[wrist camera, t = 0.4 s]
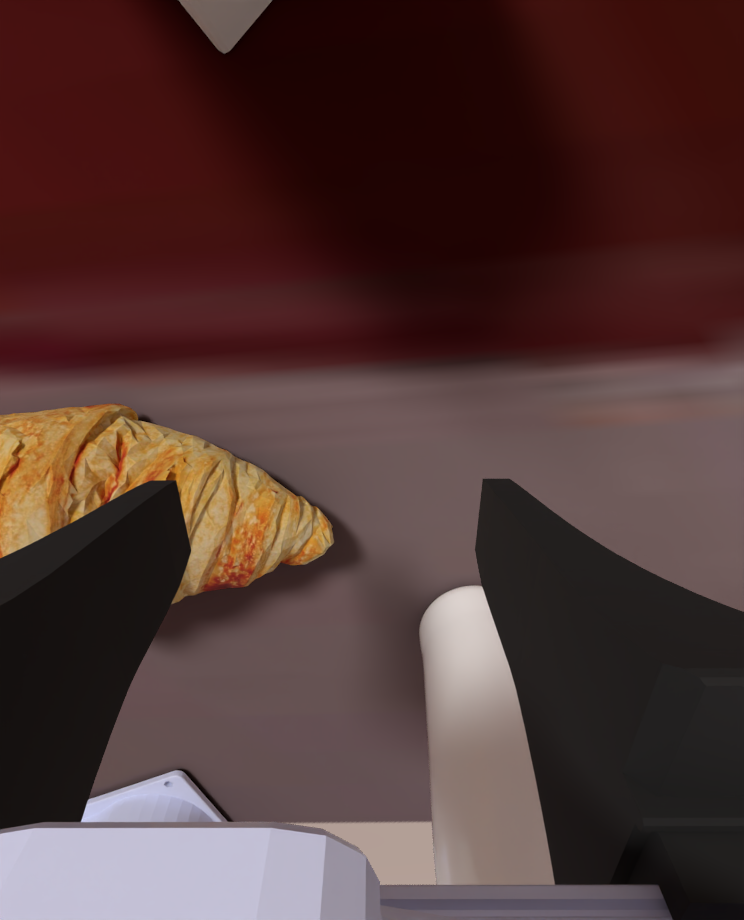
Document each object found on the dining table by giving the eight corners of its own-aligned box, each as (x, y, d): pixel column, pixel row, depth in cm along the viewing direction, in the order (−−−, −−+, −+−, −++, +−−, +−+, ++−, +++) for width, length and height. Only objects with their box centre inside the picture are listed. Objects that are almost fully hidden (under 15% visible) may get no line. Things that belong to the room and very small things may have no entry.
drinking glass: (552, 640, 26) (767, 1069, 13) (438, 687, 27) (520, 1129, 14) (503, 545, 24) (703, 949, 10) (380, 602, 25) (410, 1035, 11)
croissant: (337, 431, 25) (342, 396, 17) (328, 636, 24) (330, 700, 16) (-117, 408, 23) (-348, 358, 15) (-146, 629, 22) (-408, 699, 14)
